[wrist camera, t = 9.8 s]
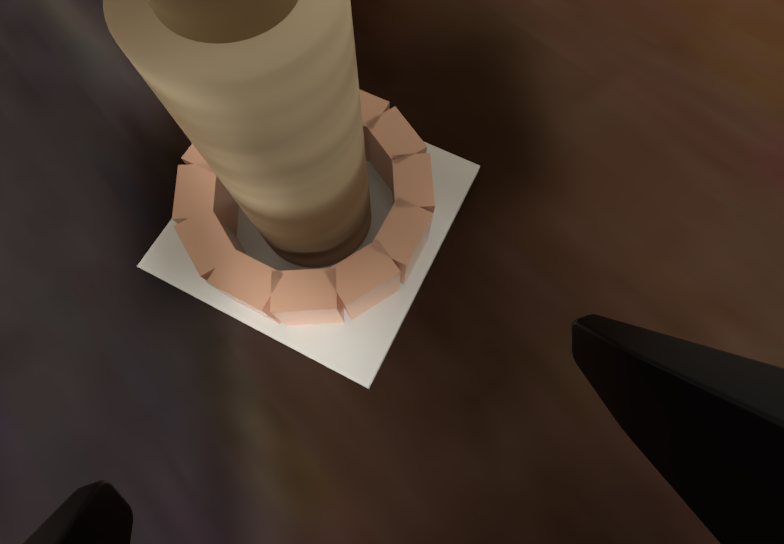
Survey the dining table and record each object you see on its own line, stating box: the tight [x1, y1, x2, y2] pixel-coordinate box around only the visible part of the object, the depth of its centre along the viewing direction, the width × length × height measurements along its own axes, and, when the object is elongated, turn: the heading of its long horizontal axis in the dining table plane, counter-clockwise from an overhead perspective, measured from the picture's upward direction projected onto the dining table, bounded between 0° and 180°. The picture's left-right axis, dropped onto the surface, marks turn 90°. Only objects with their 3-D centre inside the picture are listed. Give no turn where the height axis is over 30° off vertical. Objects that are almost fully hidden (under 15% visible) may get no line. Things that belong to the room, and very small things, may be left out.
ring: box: [137, 89, 480, 389], centre depth 17 cm, size 11×11×3 cm
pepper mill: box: [103, 0, 371, 268], centre depth 11 cm, size 5×5×16 cm
